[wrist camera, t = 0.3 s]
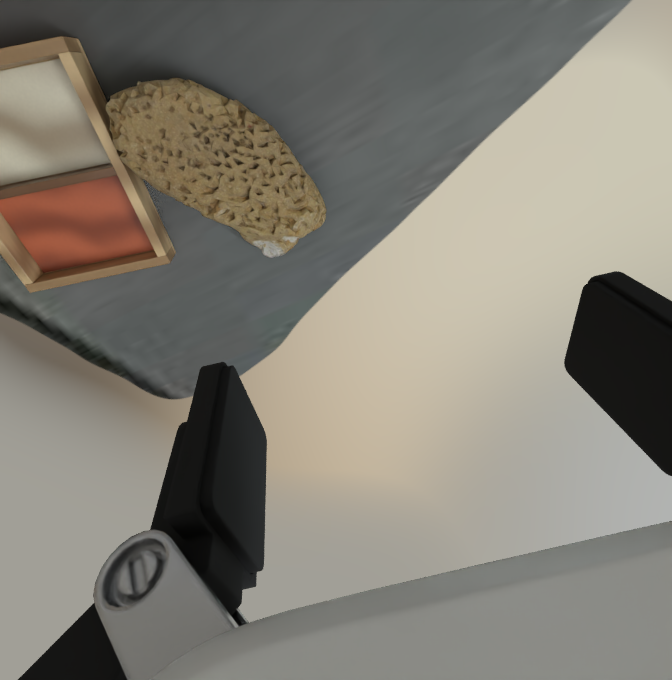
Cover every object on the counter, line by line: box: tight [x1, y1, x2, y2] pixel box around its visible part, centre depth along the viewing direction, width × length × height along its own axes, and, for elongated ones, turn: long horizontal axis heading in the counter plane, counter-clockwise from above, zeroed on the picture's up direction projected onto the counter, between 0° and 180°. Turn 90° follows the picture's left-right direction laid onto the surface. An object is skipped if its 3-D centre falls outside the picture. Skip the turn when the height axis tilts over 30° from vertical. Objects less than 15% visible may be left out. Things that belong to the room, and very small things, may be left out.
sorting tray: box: [0, 36, 176, 293], centre depth 37 cm, size 20×16×3 cm
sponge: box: [106, 78, 326, 258], centre depth 36 cm, size 13×8×20 cm
